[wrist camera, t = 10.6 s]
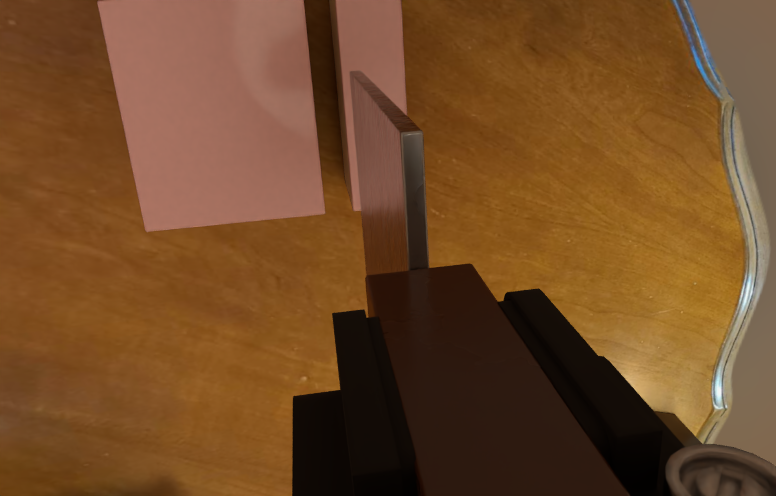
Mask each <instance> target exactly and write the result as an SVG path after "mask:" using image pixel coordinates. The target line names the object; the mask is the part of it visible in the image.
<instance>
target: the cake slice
mask: <svg viewBox="0 0 776 496" xmlns="http://www.w3.org/2000/svg"><path fill="white" fill-rule="evenodd" d="M329 5H330V17H331V28H332V39H333V51H334V62H335V73H336V85H337V96H338V108H339V119H340V130H341V142H342V153H343V165H344V176H345V183H346V187H347V190H348V194H349V197H350V201H351V204H352V208H353V211H360V210H361V204H360V192H359V180H358V168H357V156H356V145H355V133H354V121H353V109H352V97H351V85H350V71H358V70H360V71H362V72H363V73H364V74H365V75H366V76H367V77H368V78H369V79H370V80H371V81H372V82H373V83H374V84H375V85H376V86H377V87H378V88H379V89H380V90H381V91H382V92H383V93H384V94H385V95H386V96H387V97H388V98H389V99H390V100H391V101H392V102H393V103H394V104H395V105H396V106H397V107H398V108H399V109H400V110H401V111H402V112H403V113H404V114H405V115H406V116H407V106H406V86H405V66H404V45H403V25H402V5H401V0H329Z"/></svg>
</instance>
